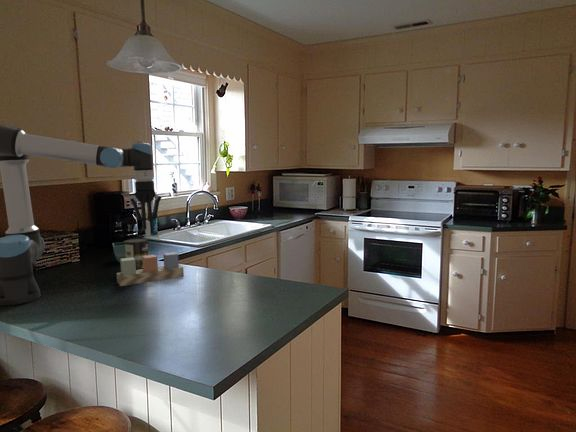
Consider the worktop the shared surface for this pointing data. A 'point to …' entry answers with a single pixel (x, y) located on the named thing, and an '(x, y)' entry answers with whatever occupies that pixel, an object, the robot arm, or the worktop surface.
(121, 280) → the socket rail
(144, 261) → the terracotta block
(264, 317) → the worktop surface
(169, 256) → the slate block
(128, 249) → the coffee can
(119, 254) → the flower pot
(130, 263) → the sage block
